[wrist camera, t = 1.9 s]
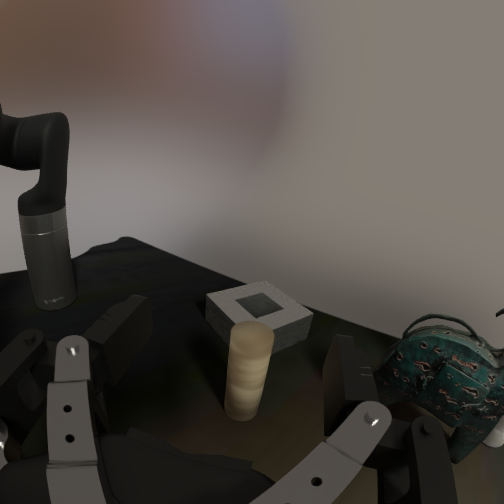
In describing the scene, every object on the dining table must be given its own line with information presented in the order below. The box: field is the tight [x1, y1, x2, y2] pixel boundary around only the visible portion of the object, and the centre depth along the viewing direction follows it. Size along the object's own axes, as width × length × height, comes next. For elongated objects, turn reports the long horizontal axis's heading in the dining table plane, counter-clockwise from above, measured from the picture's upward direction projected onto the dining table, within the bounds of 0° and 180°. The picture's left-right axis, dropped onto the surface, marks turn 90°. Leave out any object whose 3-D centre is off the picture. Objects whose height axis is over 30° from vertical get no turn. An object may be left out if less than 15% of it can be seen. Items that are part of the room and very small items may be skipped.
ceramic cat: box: [373, 309, 504, 464], centre depth 21 cm, size 20×6×20 cm, turn 44°
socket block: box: [205, 280, 313, 354], centre depth 43 cm, size 12×12×5 cm
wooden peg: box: [224, 321, 274, 421], centre depth 27 cm, size 4×4×12 cm
